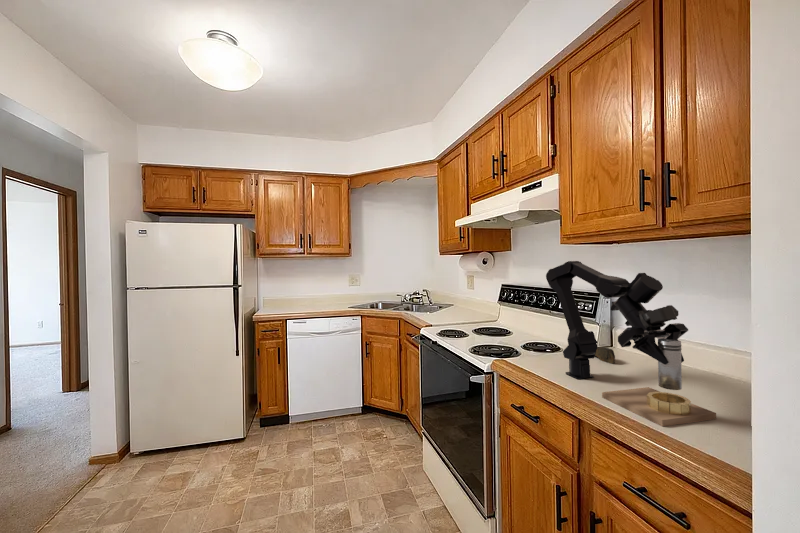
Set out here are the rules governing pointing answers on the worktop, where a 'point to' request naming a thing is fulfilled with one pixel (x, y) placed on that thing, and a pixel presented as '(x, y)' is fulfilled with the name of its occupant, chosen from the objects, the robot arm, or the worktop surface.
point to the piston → (670, 365)
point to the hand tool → (605, 354)
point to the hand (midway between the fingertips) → (674, 362)
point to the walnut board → (638, 404)
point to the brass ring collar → (669, 403)
